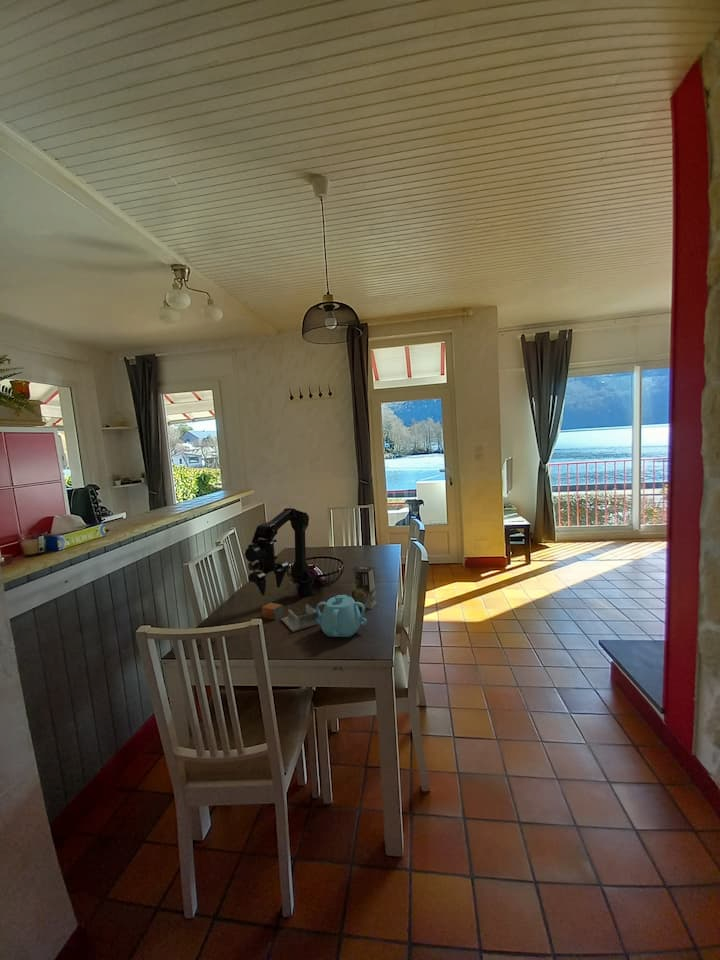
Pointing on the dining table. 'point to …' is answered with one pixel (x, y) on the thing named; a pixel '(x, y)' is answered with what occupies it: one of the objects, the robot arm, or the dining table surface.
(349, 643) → the dining table surface
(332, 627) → the decorative pot
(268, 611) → the lock block
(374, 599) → the coffee box
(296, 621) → the channel
